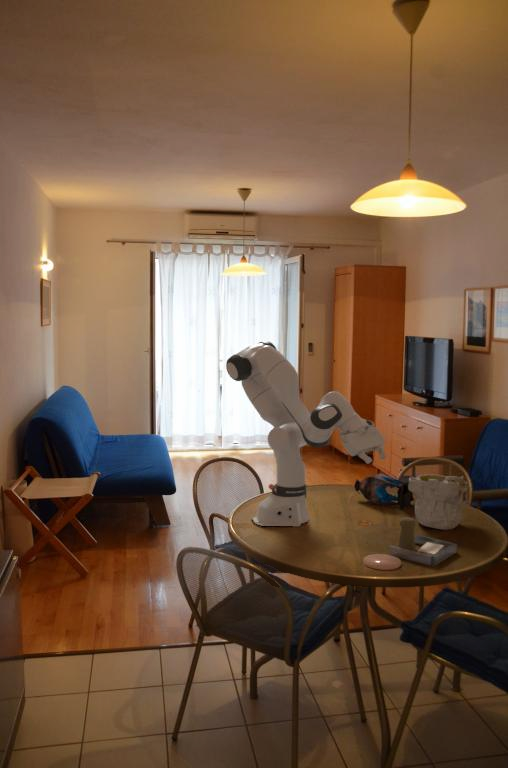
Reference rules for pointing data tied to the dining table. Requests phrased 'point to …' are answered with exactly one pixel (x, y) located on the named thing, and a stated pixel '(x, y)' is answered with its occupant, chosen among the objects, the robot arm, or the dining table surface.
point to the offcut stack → (430, 549)
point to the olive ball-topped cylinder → (407, 534)
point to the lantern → (384, 491)
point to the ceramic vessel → (439, 500)
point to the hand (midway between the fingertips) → (377, 460)
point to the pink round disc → (382, 562)
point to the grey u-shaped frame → (423, 558)
